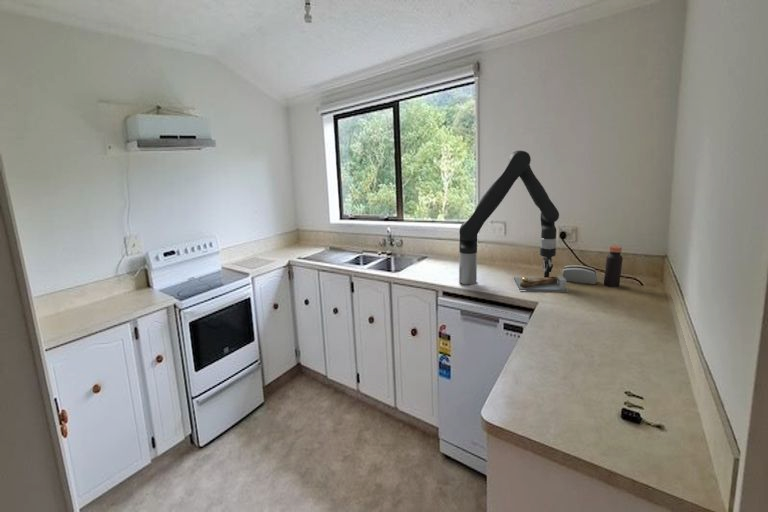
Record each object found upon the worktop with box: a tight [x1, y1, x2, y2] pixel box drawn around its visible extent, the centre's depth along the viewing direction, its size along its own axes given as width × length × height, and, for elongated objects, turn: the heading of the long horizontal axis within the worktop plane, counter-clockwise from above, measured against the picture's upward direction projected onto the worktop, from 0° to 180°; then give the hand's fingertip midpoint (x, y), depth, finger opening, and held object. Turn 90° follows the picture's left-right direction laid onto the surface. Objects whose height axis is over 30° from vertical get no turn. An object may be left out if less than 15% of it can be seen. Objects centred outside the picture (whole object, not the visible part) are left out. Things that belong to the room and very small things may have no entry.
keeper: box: [555, 275, 567, 290], centre depth 183 cm, size 3×7×5 cm, turn 169°
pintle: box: [521, 276, 529, 282], centre depth 186 cm, size 3×3×1 cm
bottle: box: [603, 245, 624, 288], centre depth 183 cm, size 7×7×20 cm
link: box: [520, 276, 557, 287], centre depth 188 cm, size 21×4×2 cm, turn 102°
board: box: [513, 276, 568, 293], centre depth 190 cm, size 22×18×1 cm
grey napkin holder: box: [561, 264, 598, 285], centre depth 193 cm, size 17×5×10 cm, turn 58°
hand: (546, 278), depth 192 cm, fingers closed
